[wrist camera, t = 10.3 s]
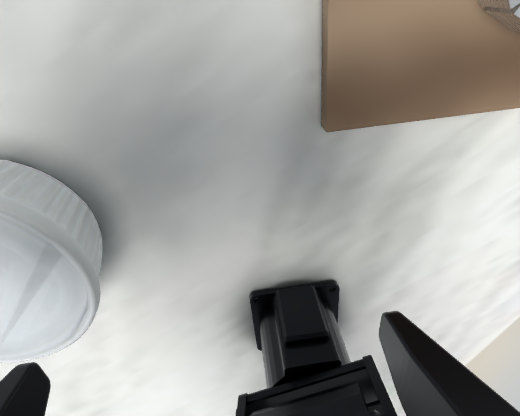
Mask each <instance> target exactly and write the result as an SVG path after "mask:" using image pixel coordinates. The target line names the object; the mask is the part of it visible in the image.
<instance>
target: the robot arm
mask: <svg viewBox="0 0 520 416" xmlns="http://www.w3.org/2000/svg"><path fill="white" fill-rule="evenodd" d="M332 287H333V288H332ZM255 298H258V299H255ZM250 303H251V310H252V316H253V323H254V329H255V335H256V342H257V348H258V349H259V350H261V351H262V352H263V360H264V368H265V376H266V384H267V389H264V390H261V391H258V392H254V393H251V394H247V393H246V394H243V395H239V397H238V406H237V410H236V416H397V414H396V412H395V409H394V407H393V405H392V402H391V400H390V398H389V395H388V393H387V391H386V389H385V386H384V384H383V382H382V379H381V377H380V375H379V372H378V370H377V368H376V366H375V363H374V361H373V359H372V356H371V355H368V356H365V357H362V358H363V359H361V360H357V361H354V362H350V359H349V356H348V353H347V350H346V347H345V345H344V342H343V339H342V336H341V333H340V330H339V327H338V325H337V323H338V304H339V286H338V284H337V282H336V281H326V282H319V283H312V284H305V285H298V286H291V287H284V288H277V289H270V290H263V291H256V292H253V293H251V295H250ZM379 338H380V342H381V345H382V348H383V351H384V354H385V357H386V360H387V363H388V366H389V370H390V373H391V376H392V379H393V382H394V385H395V388H396V391H397V394H398V397H399V399H400V402H401V404H402V407H403V409H404V411H405V413H406V416H520V412H518V411H517V410H516V409H515V408H514V407H513V406H512V405H510V404H509V403H508V402H507V401H506V400H504V399H503V398H502V397H501V396H500V395H498V394H497V393H496V392H494V390H492V389H491V388H490V387H489V386H488V385H486V384H485V383H484V382H483V381H482V380H480V379H479V378H478V377H477V376H476V375H474V374H473V373H472V372H471V371H470V370H469V369H467V368H466V367H465V366H464V365H463V364H461V363H460V362H459V361H458V360H457V359H455V358H454V357H453V356H452V355H451V354H449V353H448V352H447V351H446V350H445V349H443V348H442V347H441V346H440V345H439V344H437V343H436V342H435V341H434V340H433V339H431V338H430V337H429V336H428V335H427V334H425V333H424V332H423V331H422V330H421V329H420V328H418V327H417V326H416V325H415V324H414V323H412V322H411V321H410V320H409V319H408V318H406V317H405V316H404V315H403V314H402V313H400V312H398V311H392V312H385V313H383V314H382V317H381V323H380V328H379ZM49 392H50V380H49V378H48V377H47V375H46V374H45V373H44V371H43V370H42V369H41V367H40V366H39V365H38V364H37V363H35V362H32V363H25V364H20V365H18V366H16V367H15V368H14V369H12V370H11V371H10V372H9V373H8V374H7V375H6V376H5V377H4V378H3V379H2V380H1V381H0V416H45V411H46V407H47V402H48V397H49Z"/></svg>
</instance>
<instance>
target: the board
mask: <svg viewBox="0 0 520 416" xmlns="http://www.w3.org/2000/svg"><path fill="white" fill-rule="evenodd" d="M483 9H484V7H483V6H479V4H478V0H323V6H322V127H323V128H324V130H325V131H326V132H332V131H340V130H348V129H356V128H364V127H372V126H380V125H388V124H395V123H403V122H411V121H419V120H427V119H435V118H443V117H451V116H459V115H466V114H474V113H482V112H490V111H498V110H506V109H514V108H520V32H516V31H512V30H510V29H509V28H507V27H506V26H504V25H503V24H501V23H500V22H498V21H497V20H495V19H494V18H492V17H491V16H489V15H488V14H487V13H485V12H484V11H482V10H483Z"/></svg>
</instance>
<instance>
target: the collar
mask: <svg viewBox="0 0 520 416" xmlns="http://www.w3.org/2000/svg"><path fill="white" fill-rule="evenodd" d="M478 4H479V6H483V7H484V9H483V10H482V11H484V12H485V13H487V14H488V15H489V16H491V17H492V18H494V19H495V20H497V21H498V22H500V23H501V24H503V25H504V26H506V27H507V28H509V29H510V30H512V31H516V32H520V0H478Z"/></svg>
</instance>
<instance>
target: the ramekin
mask: <svg viewBox="0 0 520 416" xmlns="http://www.w3.org/2000/svg"><path fill="white" fill-rule="evenodd" d="M102 244H103V242H102V237H101V231H100V229H99V226H98V223H97V220H96V219H95V216H94V214H93V213H92V211H91V210H90V209H89V207H88V206H87V204H86V203H85V202H84V201H83V200H82V199H81V198H80V197H79V196H78V195H77V194H76V193H75V192H73V191H72V190H71V189H70V188H69V187H67V186H66V185H65V184H63V183H62V182H60V181H59V180H57V179H55V178H54V177H52V176H50V175H48V174H46V173H44V172H42V171H39V170H37V169H34V168H32V167H29V166H26V165H23V164H19V163H15V162H12V161H8V160H0V363H12V362H21V361H27V360H32V359H37V358H41V357H44V356H47V355H50V354H53V353H55V352H58V351H60V350H62V349H64V348H66V347H68V346H69V345H71V344H72V343H74V342H75V341H77V340H78V339H79V338H80V337H81V336H82V335H83V334H84V333H85V332H86V331H87V329H88V328H89V327H90V325H91V323H92V321H93V319H94V317H95V314H96V312H97V309H98V306H99V302H100V283H99V276H100V269H101V262H102V254H103V247H102Z"/></svg>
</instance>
